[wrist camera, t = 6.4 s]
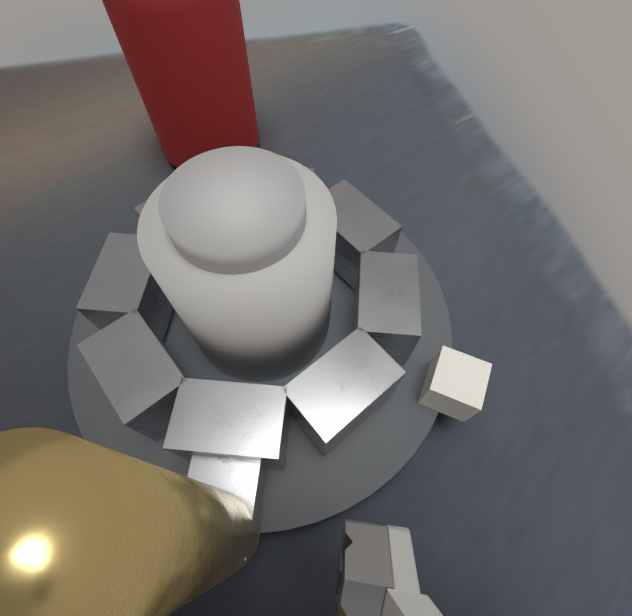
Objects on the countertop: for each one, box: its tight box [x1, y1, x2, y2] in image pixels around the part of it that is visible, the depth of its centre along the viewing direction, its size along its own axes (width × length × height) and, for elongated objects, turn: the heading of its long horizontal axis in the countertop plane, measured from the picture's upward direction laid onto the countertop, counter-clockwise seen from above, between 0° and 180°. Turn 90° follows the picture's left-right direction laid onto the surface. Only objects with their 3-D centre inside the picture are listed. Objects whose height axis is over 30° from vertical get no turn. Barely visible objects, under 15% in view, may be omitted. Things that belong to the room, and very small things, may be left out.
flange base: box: [67, 146, 492, 533], centre depth 16 cm, size 19×18×10 cm
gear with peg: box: [0, 168, 422, 616], centre depth 12 cm, size 17×13×12 cm
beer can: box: [102, 0, 259, 168], centre depth 22 cm, size 7×7×12 cm
